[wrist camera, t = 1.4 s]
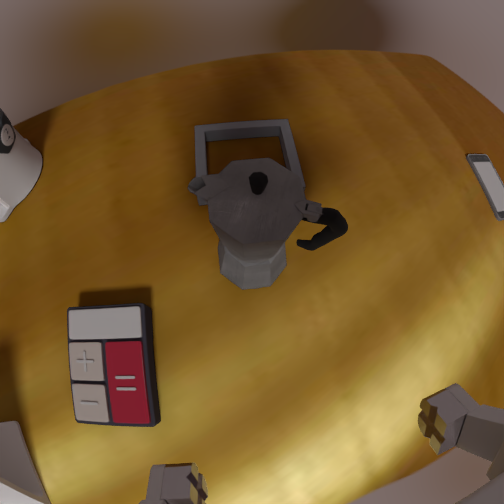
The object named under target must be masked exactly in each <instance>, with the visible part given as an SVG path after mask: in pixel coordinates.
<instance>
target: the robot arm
mask: <svg viewBox="0 0 504 504" xmlns="http://www.w3.org/2000/svg"><path fill="white" fill-rule="evenodd" d="M41 168H42V156H41V153H40V152H39V151H38V150H37V149H35V148H34V147H33V146H31V144H30V142H29V141H28V140H27V139H24V138H23V137H22V136H21V135H20V134H19V133H18V132H17V131H16V129H15V128H14V127H13V126H12V125H11V122H10V121H9V119H8V118H7V116H6V114H5V113H4V112H3V111H2V110H1V109H0V222H4V221H5V220H6V219H7V218H8V216H9V215H10V213H11V212H12V210H13V209H14V208H15V206H16V205H17V204H19V203H20V202H21V201H22V200H23V199H24V198H25V197H26V196H27V195H28V193H29V192H30V191H31V189H32V188H33V186H34V185H35V183H36V181H37V179H38V177H39V175H40V172H41ZM420 408H421V409H422V411H421V412H420V414H419V415H418V425H419V428H420V431H421V432H422V434H423V435H424V436H425V437H428V438H430V445H431V447H432V448H433V450H434V451H435V452H436V454H437V455H439V454H441V453H443V452H445V451H447V450H449V449H451V448H452V447H454V446H456V447H458V448H461V449H463V450H465V451H467V452H470V453H472V454H474V455H477V456H479V457H482V458H484V459H487V460H489V461H491V462H492V464H491V466H490V468H489V469H488V471H487V476H488V478H489V479H490V480H491V481H489V482H488V483H486V484H485V485H483V486H482V487H480V488H479V489H477V490H476V491H474V492H473V493H471V494H470V495H468V496H467V497H465V498H463V499H462V500H460V501H458V502H456V503H455V504H504V409H500V408H495V407H491V406H487V405H481V406H480V405H479V404H478V403H477V402H476V401H475V400H474V399H473V398H472V397H471V396H470V395H469V394H468V393H467V392H466V391H465V390H464V389H463V388H462V387H461V386H460V385H459V384H456V383H455V384H453V385H451V386H449V387H447V388H445V389H442V390H440V391H438V392H436V393H434V394H432V395H430V396H428V397H426V398H424V399H422V401H421V403H420ZM207 497H208V489H207V484H206V481H205V478H204V476H203V475H202V474H200V473H198V467H197V465H196V464H195V463H181V464H162V465H153V466H152V468H151V470H150V476H149V482H148V488H147V495H146V500H142V501H141V502H140V503H139V504H206V503H205V500H206V498H207Z"/></svg>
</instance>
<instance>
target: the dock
mask: <svg viewBox="0 0 504 504" xmlns="http://www.w3.org/2000/svg"><path fill="white" fill-rule="evenodd" d="M271 136H279V139H280V143H281V147H282V152H283V156H284V160H285V165H286V168H287V169H288V170H290V171H292V172H293V173H295V174H296V175H298V176H299V177H300V178H301V182H302V186H303V190H305V183H304V178H303V174H302V171H301V167H300V163H299V159H298V155H297V151H296V147H295V144H294V140H293V136H292V133H291V129H290V125H289V122H288V119H278V120H257V121H242V122H229V123H217V124H207V125H198V126H195V158H196V177H201V176H202V175H208V174H207V157H206V142H207V141H217V140H228V139H240V138H254V137H271ZM197 199H198V203H199V205H207V204H208V203H207V202H206V201H205V200H204V199H203V198H201V197H199V196H197Z"/></svg>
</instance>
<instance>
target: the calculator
mask: <svg viewBox="0 0 504 504" xmlns="http://www.w3.org/2000/svg"><path fill="white" fill-rule="evenodd" d="M67 328H68V352H69V367H70V379H71V389H72V398H73V406H74V413H75V420H76V421H77V422H78V423H85V424H97V425H112V426H137V427H154V426H155V425H157V424H158V423H159V422H160V421H161V417H160V409H159V400H158V391H157V382H156V372H155V362H154V351H153V327H152V310H151V308H150V307H148V306H147V305H145V304H143V303H131V304H117V305H101V306H84V307H69V308H68V310H67Z"/></svg>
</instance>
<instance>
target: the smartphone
mask: <svg viewBox="0 0 504 504" xmlns="http://www.w3.org/2000/svg"><path fill="white" fill-rule="evenodd" d="M466 159H467V161H468V162H469V164H470V166H471V168H472V170H473V172H474V174H475V175H476V177H477V179H478V181H479V183H480V185H481V187H482V189H483V191H484V193H485V195H486V197H487V199H488V201H489V204H490V206H491V208H492V210H493V212H494V215H495V217H496V219H497V220H498V221H501V220H504V185H503V183H502V181H501V179H500V177H499V175H498V173H497V171H496V170H495V168H494V166H493V164H492V162H491V161H490V159H489V157H488V156H487V155H486V154H468V155H467V157H466Z"/></svg>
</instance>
